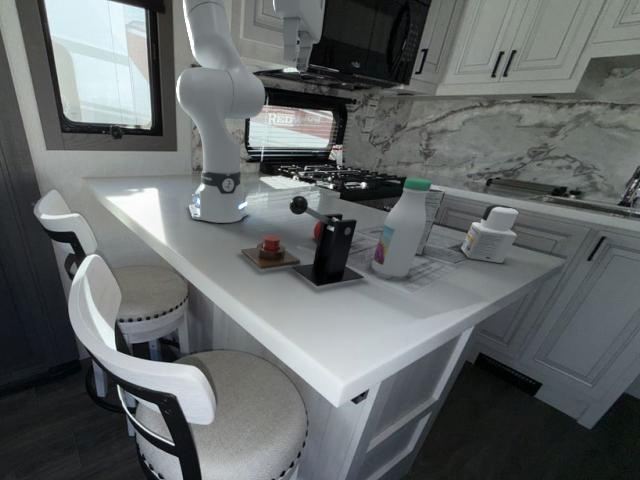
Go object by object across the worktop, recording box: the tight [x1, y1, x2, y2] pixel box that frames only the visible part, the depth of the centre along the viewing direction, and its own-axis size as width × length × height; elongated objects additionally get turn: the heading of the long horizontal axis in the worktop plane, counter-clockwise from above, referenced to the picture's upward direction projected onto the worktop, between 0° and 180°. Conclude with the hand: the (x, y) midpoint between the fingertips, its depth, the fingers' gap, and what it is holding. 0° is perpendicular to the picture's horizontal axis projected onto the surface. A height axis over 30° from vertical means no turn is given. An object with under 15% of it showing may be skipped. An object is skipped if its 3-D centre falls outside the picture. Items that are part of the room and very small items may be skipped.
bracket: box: [292, 213, 365, 287], centre depth 62 cm, size 12×9×13 cm
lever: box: [289, 195, 339, 231], centre depth 57 cm, size 14×3×3 cm, turn 115°
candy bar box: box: [415, 183, 446, 256], centre depth 80 cm, size 11×5×16 cm, turn 168°
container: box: [460, 204, 520, 264], centre depth 78 cm, size 8×8×13 cm
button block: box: [241, 242, 301, 270], centre depth 70 cm, size 10×10×4 cm
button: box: [262, 234, 281, 251], centre depth 69 cm, size 4×4×2 cm
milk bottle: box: [370, 177, 433, 278], centre depth 64 cm, size 8×8×20 cm
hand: (295, 66), depth 51 cm, fingers open, 8 cm apart
